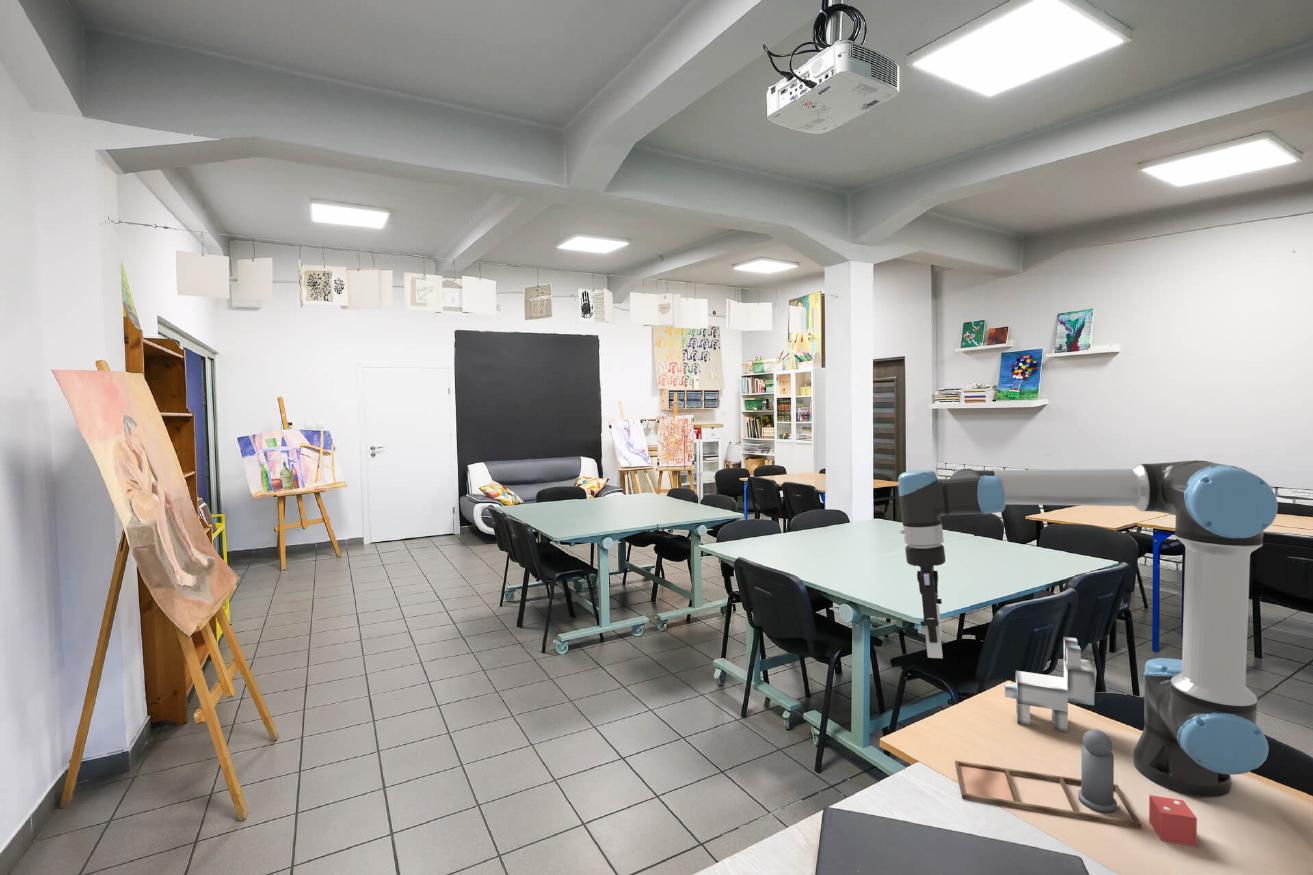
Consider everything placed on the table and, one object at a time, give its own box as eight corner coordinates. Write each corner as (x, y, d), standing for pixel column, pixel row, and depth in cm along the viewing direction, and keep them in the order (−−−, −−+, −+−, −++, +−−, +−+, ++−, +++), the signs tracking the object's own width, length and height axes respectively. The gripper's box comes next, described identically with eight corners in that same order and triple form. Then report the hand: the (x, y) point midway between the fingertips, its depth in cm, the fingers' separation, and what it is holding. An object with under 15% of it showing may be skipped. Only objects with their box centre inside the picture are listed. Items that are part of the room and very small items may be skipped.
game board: (1117, 788, 122) (1117, 784, 122) (1141, 828, 111) (1141, 823, 110) (955, 764, 132) (955, 760, 132) (962, 798, 120) (962, 794, 120)
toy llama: (1004, 707, 155) (1004, 629, 154) (1088, 722, 147) (1088, 639, 146) (1005, 721, 148) (1005, 640, 147) (1094, 737, 140) (1094, 651, 139)
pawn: (1110, 795, 120) (1110, 725, 119) (1121, 815, 114) (1122, 741, 113) (1074, 790, 122) (1074, 720, 121) (1083, 809, 116) (1083, 736, 115)
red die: (1183, 826, 110) (1183, 799, 110) (1196, 846, 106) (1196, 817, 106) (1149, 821, 112) (1149, 794, 112) (1160, 839, 107) (1161, 811, 107)
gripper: (907, 534, 142) (917, 626, 142) (901, 557, 119) (914, 666, 119) (943, 533, 139) (953, 627, 139) (944, 556, 116) (957, 669, 116)
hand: (935, 645), depth 129 cm, fingers open, 13 cm apart
